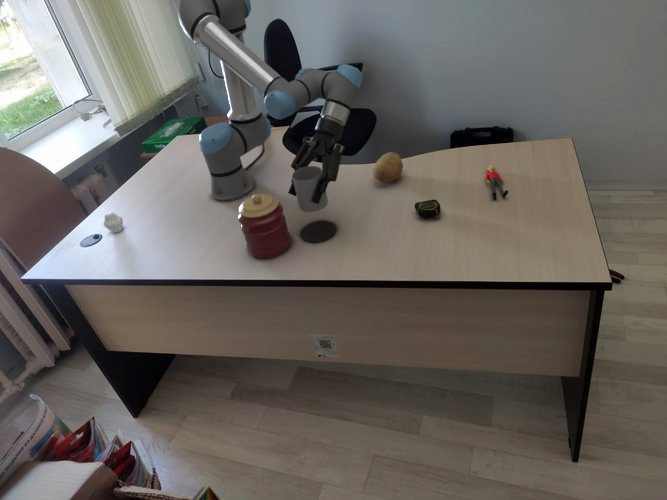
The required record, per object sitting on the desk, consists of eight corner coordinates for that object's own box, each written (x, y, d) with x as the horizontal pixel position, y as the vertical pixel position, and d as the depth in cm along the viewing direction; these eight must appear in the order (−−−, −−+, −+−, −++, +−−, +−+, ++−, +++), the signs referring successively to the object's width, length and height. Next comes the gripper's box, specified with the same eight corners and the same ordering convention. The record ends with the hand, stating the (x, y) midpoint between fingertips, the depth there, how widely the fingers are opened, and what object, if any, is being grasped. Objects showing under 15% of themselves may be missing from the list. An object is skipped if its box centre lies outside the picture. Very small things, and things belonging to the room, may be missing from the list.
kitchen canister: (274, 264, 134) (258, 211, 123) (239, 254, 140) (222, 203, 129) (300, 237, 142) (287, 186, 131) (266, 229, 148) (252, 180, 138)
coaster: (297, 227, 146) (296, 226, 146) (331, 217, 148) (331, 216, 148) (305, 247, 138) (304, 245, 138) (341, 236, 139) (340, 235, 139)
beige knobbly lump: (108, 229, 164) (99, 212, 160) (126, 222, 166) (117, 205, 161) (108, 237, 159) (99, 220, 155) (127, 231, 161) (118, 214, 157)
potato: (408, 169, 165) (406, 147, 160) (397, 190, 155) (396, 168, 150) (381, 167, 168) (379, 147, 164) (369, 188, 158) (366, 167, 154)
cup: (331, 197, 138) (326, 166, 133) (322, 212, 132) (316, 181, 127) (305, 196, 141) (298, 165, 135) (294, 211, 135) (287, 180, 129)
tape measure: (437, 207, 143) (436, 196, 141) (443, 219, 138) (443, 208, 136) (414, 211, 144) (414, 200, 141) (420, 223, 138) (419, 212, 136)
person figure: (493, 187, 139) (485, 158, 153) (488, 198, 142) (481, 169, 156) (510, 191, 139) (501, 161, 153) (505, 202, 142) (496, 172, 156)
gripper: (368, 133, 128) (338, 211, 130) (313, 121, 141) (286, 193, 142) (353, 122, 123) (322, 204, 124) (297, 111, 135) (269, 186, 136)
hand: (303, 198), depth 133 cm, fingers closed on cup, 8 cm apart
